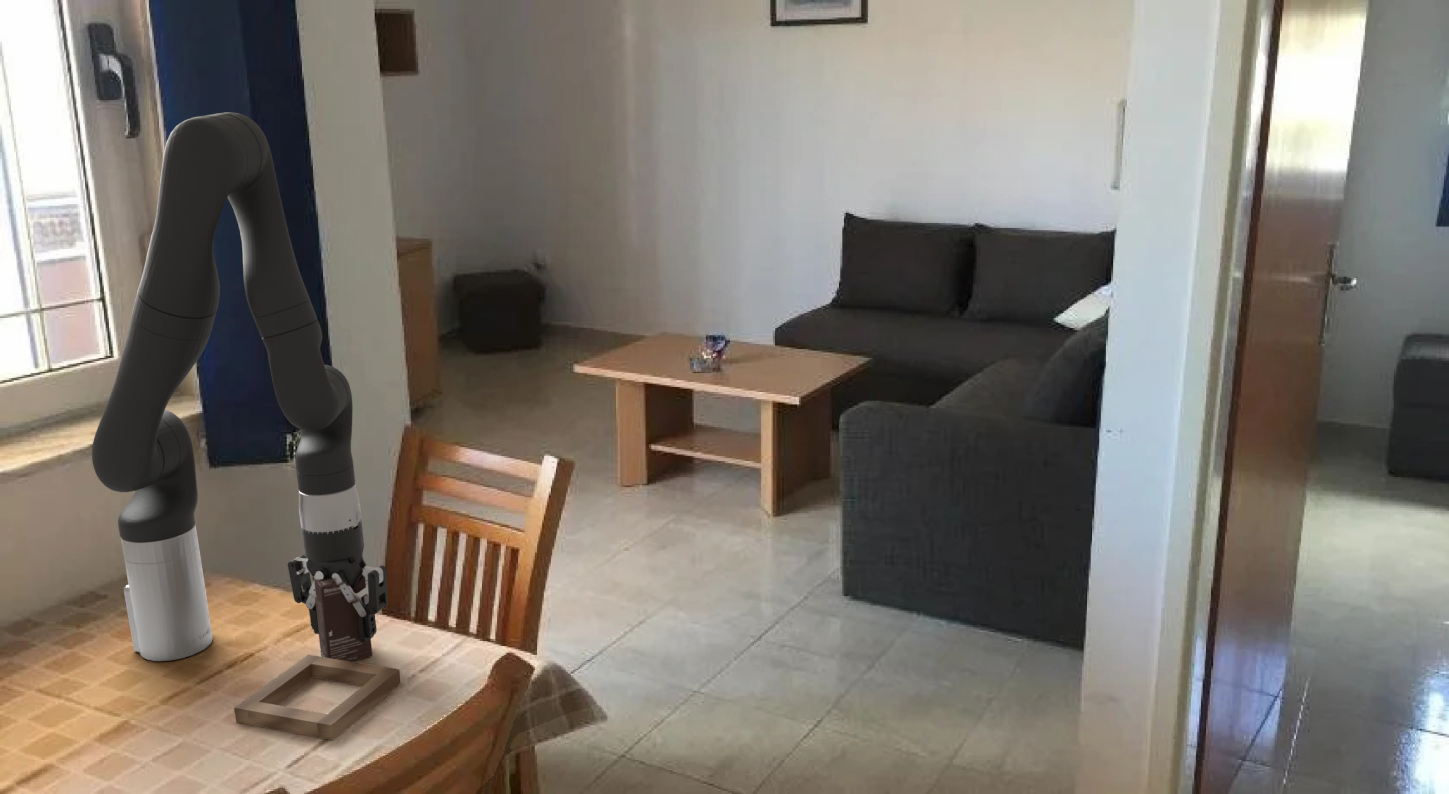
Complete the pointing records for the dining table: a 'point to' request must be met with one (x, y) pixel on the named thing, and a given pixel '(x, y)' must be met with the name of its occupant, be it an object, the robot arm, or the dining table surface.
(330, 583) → the box
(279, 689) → the socket
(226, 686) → the dining table surface
